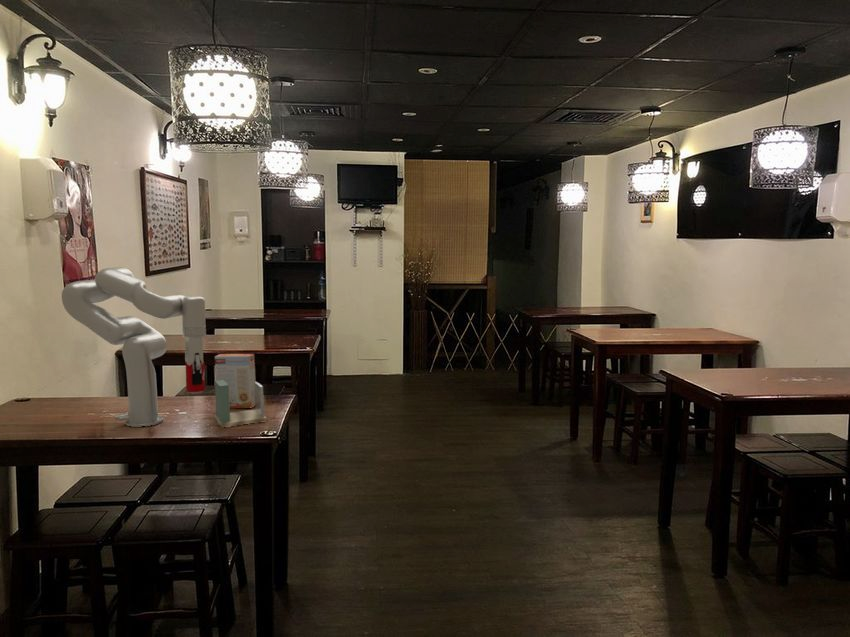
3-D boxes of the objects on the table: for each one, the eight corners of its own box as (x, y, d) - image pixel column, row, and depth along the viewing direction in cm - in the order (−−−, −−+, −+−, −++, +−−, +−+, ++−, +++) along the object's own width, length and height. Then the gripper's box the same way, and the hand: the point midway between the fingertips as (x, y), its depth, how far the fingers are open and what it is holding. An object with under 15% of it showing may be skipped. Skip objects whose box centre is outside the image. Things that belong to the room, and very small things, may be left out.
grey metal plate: (261, 416, 235) (260, 386, 234) (255, 411, 243) (254, 382, 242) (264, 416, 236) (262, 386, 234) (258, 410, 244) (257, 381, 242)
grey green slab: (221, 422, 228) (219, 386, 227) (216, 415, 237) (214, 380, 236) (230, 421, 230) (228, 385, 228) (224, 414, 239) (223, 379, 237)
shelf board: (221, 428, 227) (221, 424, 226) (214, 418, 239) (213, 414, 239) (267, 421, 234) (267, 417, 234) (257, 412, 246) (257, 409, 246)
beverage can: (207, 390, 233) (207, 357, 231) (201, 394, 226) (200, 360, 225) (190, 389, 233) (189, 356, 231) (183, 394, 227) (182, 360, 225)
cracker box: (257, 405, 258) (255, 353, 255) (251, 409, 252) (249, 356, 249) (223, 404, 259) (220, 353, 257) (216, 408, 253) (214, 355, 251)
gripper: (179, 329, 233) (180, 378, 235) (186, 336, 218) (187, 388, 220) (201, 328, 236) (202, 376, 238) (209, 334, 221) (210, 386, 223)
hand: (195, 382), depth 229 cm, fingers closed on beverage can, 6 cm apart
